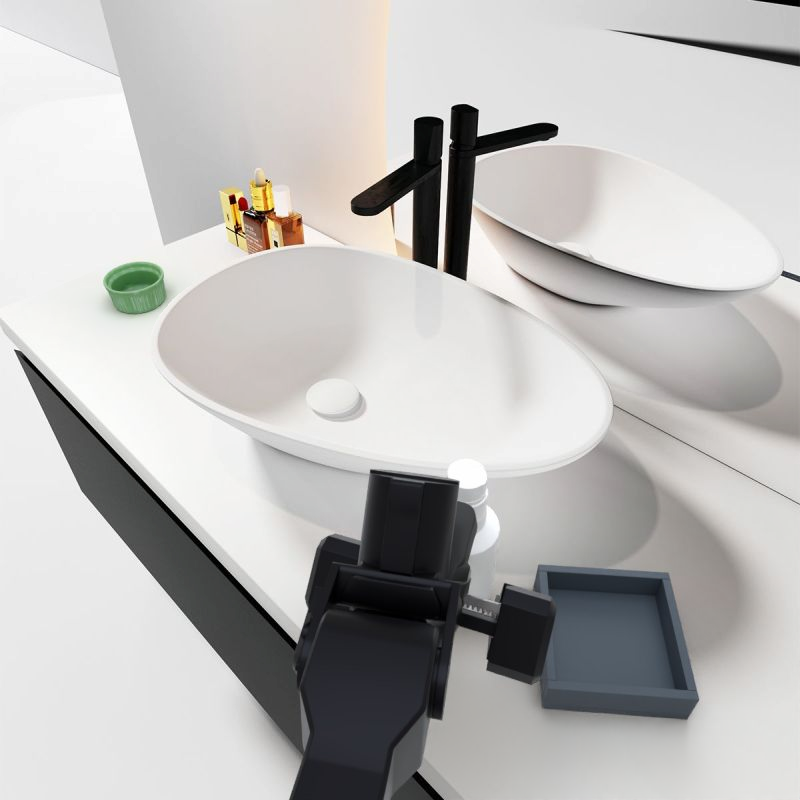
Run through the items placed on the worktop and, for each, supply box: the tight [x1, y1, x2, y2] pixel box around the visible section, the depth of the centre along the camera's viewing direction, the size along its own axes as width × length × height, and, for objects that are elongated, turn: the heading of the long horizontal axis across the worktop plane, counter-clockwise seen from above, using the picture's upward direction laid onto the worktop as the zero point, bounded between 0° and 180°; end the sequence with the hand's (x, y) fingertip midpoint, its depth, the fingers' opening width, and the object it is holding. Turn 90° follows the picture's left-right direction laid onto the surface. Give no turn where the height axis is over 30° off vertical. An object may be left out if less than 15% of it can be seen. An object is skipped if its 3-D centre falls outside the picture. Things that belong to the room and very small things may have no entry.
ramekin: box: [102, 261, 167, 314], centre depth 109 cm, size 9×9×4 cm
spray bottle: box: [446, 458, 501, 614], centre depth 64 cm, size 7×7×18 cm
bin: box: [533, 563, 700, 720], centre depth 65 cm, size 13×13×4 cm
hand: (446, 586), depth 61 cm, fingers open, 9 cm apart
